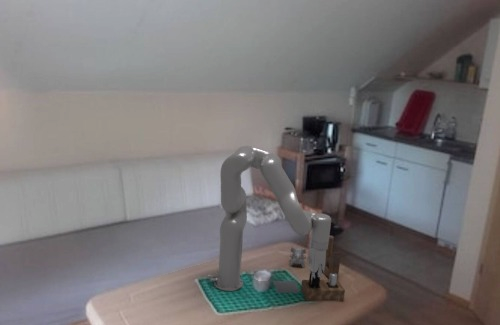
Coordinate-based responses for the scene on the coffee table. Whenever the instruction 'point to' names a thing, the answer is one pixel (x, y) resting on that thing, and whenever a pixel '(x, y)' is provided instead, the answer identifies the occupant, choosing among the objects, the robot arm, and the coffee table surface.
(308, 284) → the hole block
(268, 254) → the coffee table surface
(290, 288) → the mat
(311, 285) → the peg
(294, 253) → the gray elephant figurine
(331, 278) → the seated peg
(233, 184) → the robot arm
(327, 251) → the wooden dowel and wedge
